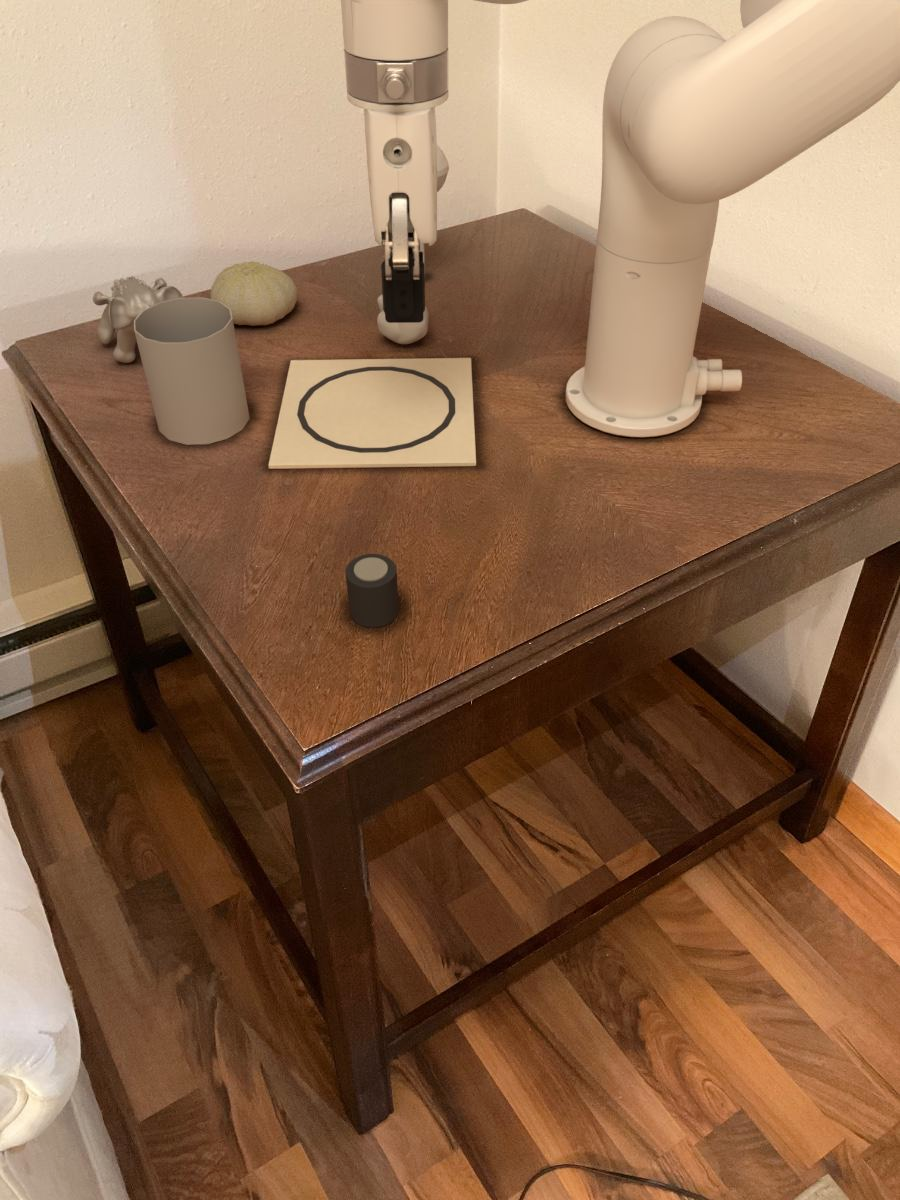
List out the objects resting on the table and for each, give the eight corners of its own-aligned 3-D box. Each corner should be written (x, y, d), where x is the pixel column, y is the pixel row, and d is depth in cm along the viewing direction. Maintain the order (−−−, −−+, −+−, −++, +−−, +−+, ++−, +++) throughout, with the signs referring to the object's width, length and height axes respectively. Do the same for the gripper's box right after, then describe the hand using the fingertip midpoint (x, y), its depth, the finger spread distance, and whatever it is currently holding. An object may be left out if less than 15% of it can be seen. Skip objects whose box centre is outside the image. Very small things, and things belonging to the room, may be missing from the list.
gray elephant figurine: (156, 320, 106) (140, 251, 100) (230, 356, 100) (217, 284, 95) (83, 354, 100) (62, 283, 95) (157, 394, 95) (139, 320, 90)
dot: (399, 593, 74) (397, 551, 71) (398, 627, 71) (395, 585, 68) (351, 594, 74) (346, 552, 71) (348, 628, 71) (343, 585, 68)
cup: (229, 449, 88) (210, 347, 81) (143, 439, 89) (116, 338, 82) (261, 399, 94) (245, 301, 87) (180, 391, 95) (158, 293, 88)
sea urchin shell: (270, 265, 111) (286, 233, 103) (297, 331, 111) (315, 304, 104) (193, 285, 107) (203, 254, 100) (221, 353, 107) (233, 327, 100)
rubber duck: (401, 358, 99) (398, 282, 94) (362, 334, 103) (356, 260, 97) (442, 340, 102) (441, 266, 96) (402, 318, 105) (399, 245, 100)
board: (470, 361, 99) (471, 356, 98) (476, 466, 86) (476, 461, 85) (291, 363, 99) (290, 359, 98) (268, 469, 86) (268, 464, 85)
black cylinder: (425, 299, 86) (424, 253, 83) (425, 319, 83) (424, 272, 81) (384, 300, 86) (381, 253, 83) (382, 319, 83) (380, 272, 81)
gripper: (450, 111, 66) (450, 357, 79) (447, 44, 78) (447, 266, 91) (338, 112, 66) (356, 358, 79) (352, 44, 78) (365, 267, 91)
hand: (404, 306), depth 85 cm, fingers closed on black cylinder, 3 cm apart
